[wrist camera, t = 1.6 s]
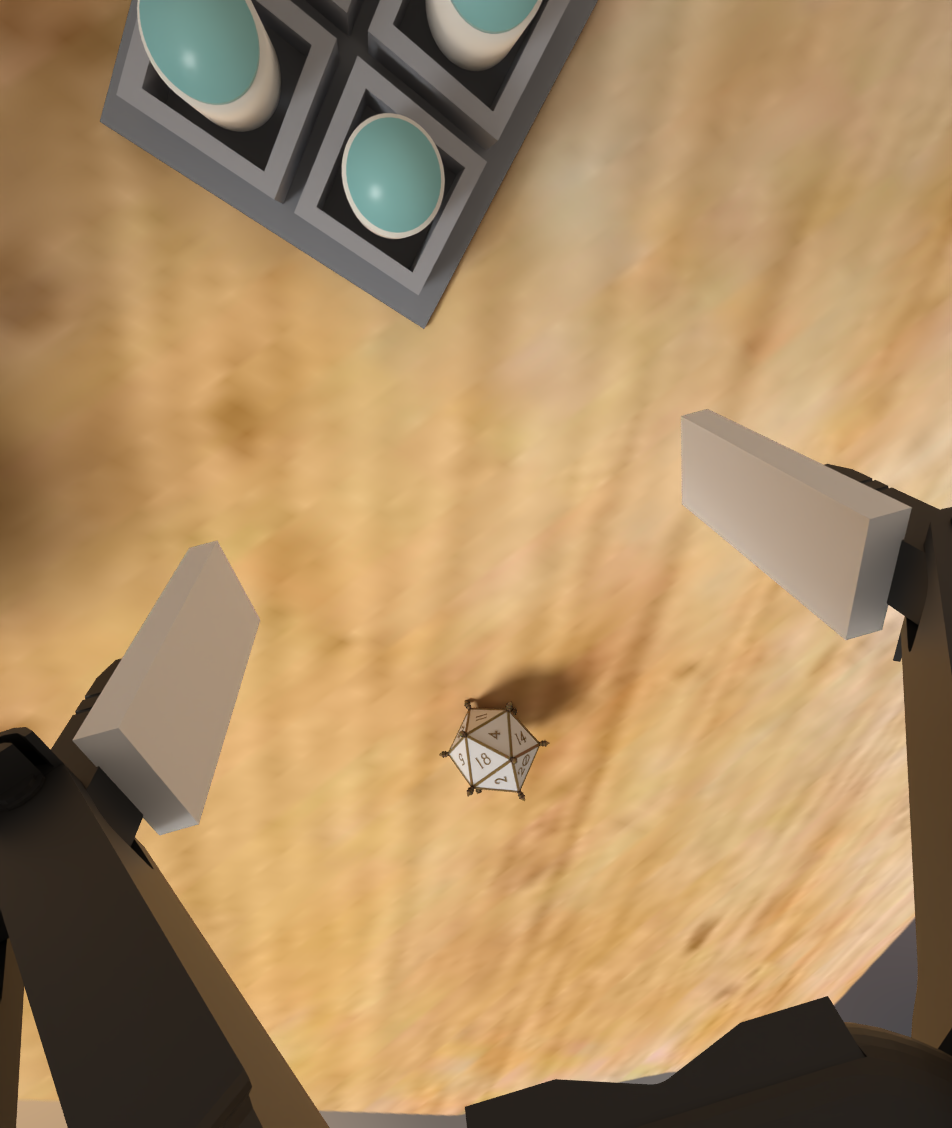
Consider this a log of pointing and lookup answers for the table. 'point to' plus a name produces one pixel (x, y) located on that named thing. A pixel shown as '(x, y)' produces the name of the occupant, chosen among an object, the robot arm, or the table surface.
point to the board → (331, 114)
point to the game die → (493, 750)
